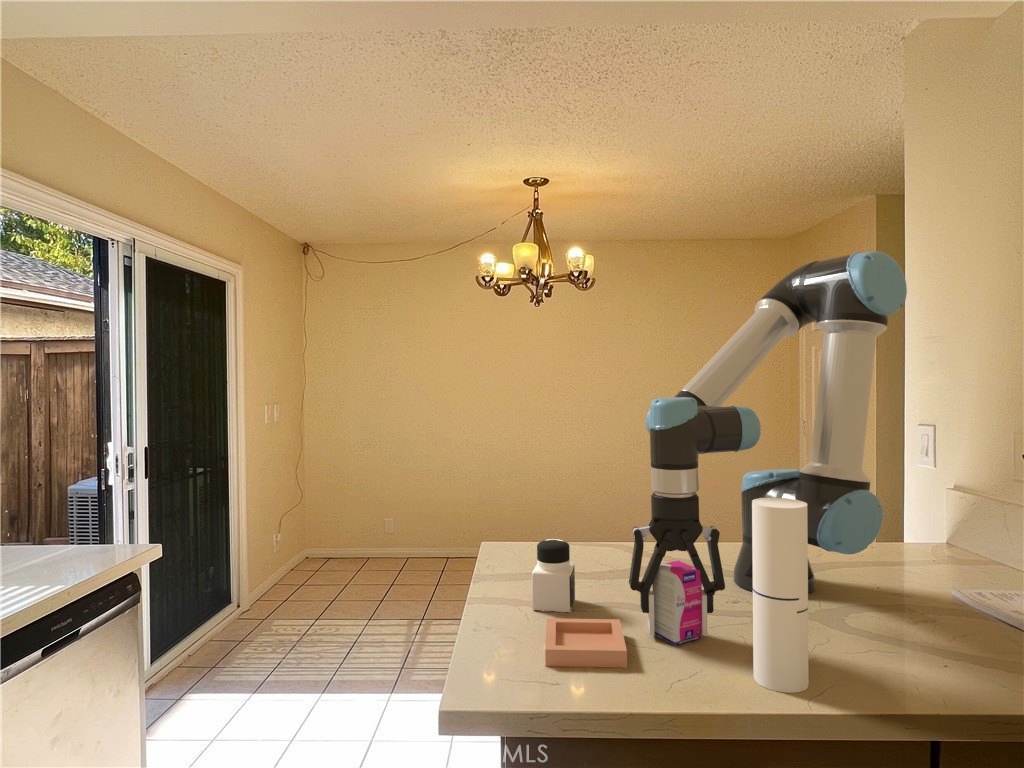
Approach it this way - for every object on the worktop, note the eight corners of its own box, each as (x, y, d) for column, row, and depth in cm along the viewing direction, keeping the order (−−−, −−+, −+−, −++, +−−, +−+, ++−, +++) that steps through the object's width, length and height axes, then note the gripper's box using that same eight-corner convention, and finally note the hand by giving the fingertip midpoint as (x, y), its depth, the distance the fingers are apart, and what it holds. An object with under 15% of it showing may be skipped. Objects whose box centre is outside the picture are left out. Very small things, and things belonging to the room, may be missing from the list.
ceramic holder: (619, 634, 108) (619, 619, 108) (627, 667, 96) (626, 650, 96) (547, 633, 109) (547, 618, 109) (545, 666, 97) (545, 649, 97)
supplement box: (676, 646, 102) (674, 574, 102) (651, 633, 107) (649, 564, 107) (703, 638, 105) (702, 568, 105) (678, 626, 110) (677, 559, 110)
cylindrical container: (744, 669, 94) (743, 498, 94) (791, 667, 95) (790, 496, 94) (768, 694, 87) (766, 509, 87) (819, 691, 88) (817, 507, 87)
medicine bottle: (571, 613, 117) (570, 547, 117) (532, 611, 119) (530, 545, 118) (575, 599, 124) (574, 537, 124) (538, 597, 126) (537, 535, 125)
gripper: (733, 487, 108) (735, 623, 109) (609, 489, 110) (611, 622, 111) (746, 496, 101) (748, 642, 102) (612, 498, 103) (615, 641, 103)
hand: (677, 631), depth 106 cm, fingers closed on supplement box, 8 cm apart
